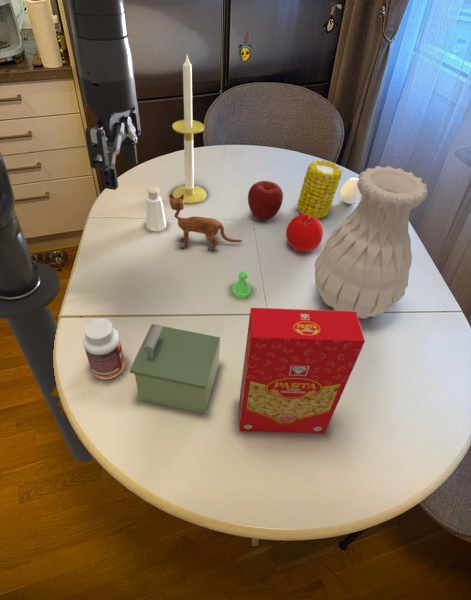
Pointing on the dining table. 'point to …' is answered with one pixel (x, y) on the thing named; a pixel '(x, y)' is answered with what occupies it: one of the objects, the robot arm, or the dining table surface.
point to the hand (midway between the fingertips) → (121, 175)
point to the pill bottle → (103, 349)
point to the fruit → (304, 232)
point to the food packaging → (296, 368)
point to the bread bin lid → (176, 356)
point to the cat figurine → (197, 224)
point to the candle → (188, 141)
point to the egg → (350, 191)
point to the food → (319, 188)
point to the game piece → (242, 286)
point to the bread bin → (177, 391)
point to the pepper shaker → (155, 211)
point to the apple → (265, 199)
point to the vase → (371, 245)
